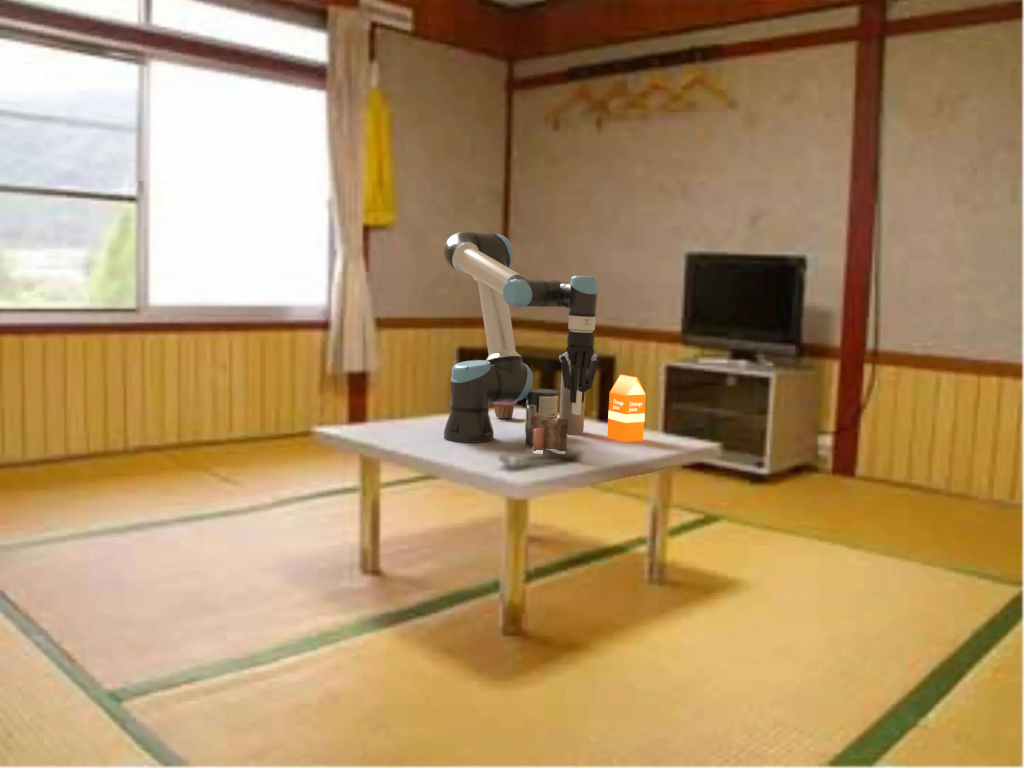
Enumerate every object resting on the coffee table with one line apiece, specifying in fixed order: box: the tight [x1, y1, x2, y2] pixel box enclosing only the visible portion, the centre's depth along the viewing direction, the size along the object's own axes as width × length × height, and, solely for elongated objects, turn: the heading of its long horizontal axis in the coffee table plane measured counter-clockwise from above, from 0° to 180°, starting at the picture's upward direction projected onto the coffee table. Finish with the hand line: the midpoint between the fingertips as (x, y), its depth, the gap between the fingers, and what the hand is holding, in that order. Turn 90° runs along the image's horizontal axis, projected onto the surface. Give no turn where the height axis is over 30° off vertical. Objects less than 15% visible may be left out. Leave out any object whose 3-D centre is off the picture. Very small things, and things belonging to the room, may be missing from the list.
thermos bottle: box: [558, 358, 586, 435], centre depth 303 cm, size 8×8×28 cm
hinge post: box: [524, 405, 536, 447], centre depth 278 cm, size 3×3×12 cm
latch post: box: [532, 428, 545, 452], centre depth 266 cm, size 3×3×7 cm
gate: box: [531, 415, 568, 453], centre depth 268 cm, size 18×2×10 cm, turn 26°
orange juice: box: [607, 373, 647, 443], centre depth 296 cm, size 8×9×20 cm
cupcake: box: [492, 401, 518, 420], centre depth 328 cm, size 9×9×10 cm
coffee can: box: [524, 388, 560, 435], centre depth 297 cm, size 10×10×14 cm
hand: (576, 413), depth 267 cm, fingers closed
